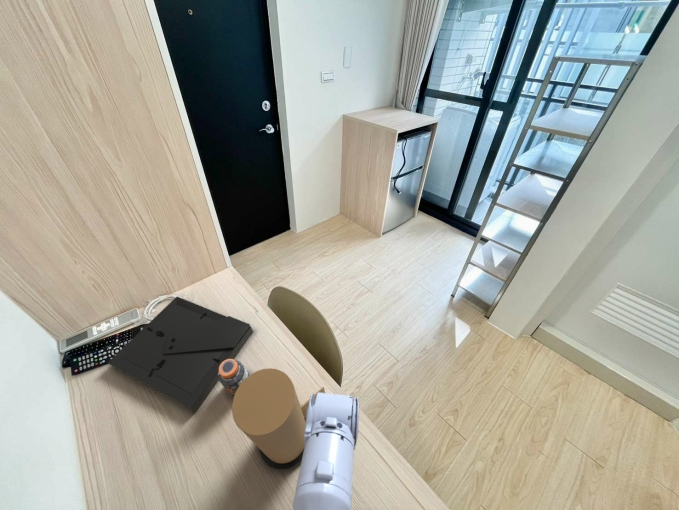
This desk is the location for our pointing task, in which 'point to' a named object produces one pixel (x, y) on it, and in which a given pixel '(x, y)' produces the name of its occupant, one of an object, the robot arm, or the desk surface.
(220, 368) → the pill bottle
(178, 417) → the desk surface
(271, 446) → the tan pedal trash can
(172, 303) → the picture frame
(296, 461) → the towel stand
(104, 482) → the desk surface
